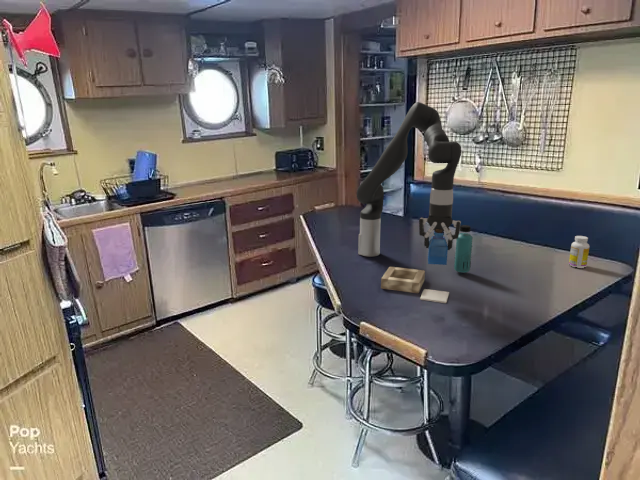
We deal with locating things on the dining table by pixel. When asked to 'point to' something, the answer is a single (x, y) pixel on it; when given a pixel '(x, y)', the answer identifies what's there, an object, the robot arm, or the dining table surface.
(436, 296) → the coaster
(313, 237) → the dining table surface
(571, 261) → the supplement bottle
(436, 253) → the perfume bottle
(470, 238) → the beverage bottle
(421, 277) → the pocket block
